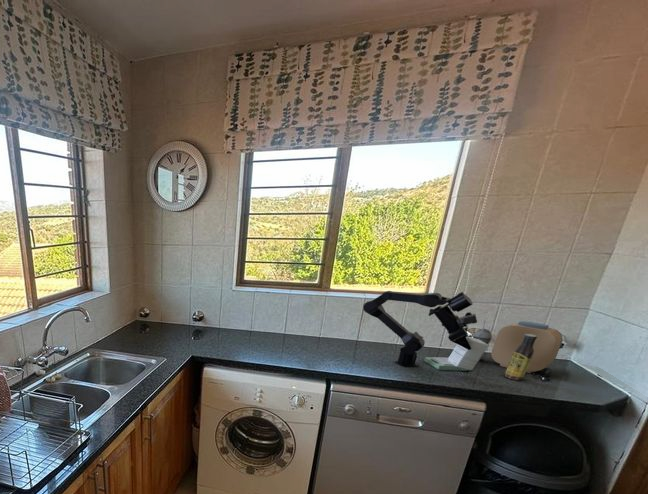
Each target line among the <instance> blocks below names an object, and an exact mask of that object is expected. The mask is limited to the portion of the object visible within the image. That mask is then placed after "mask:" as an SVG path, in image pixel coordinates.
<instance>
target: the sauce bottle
mask: <svg viewBox="0 0 648 494" xmlns="http://www.w3.org/2000/svg"><path fill="white" fill-rule="evenodd" d="M536 338H537V336H536V335H532V334H525V335H524V339H523V341H522V343H521V344H520V346H519V347H518V348H517V349H516V350H515V351H514V353H513V355H512V358H511V360H510V362H509V365H508V367H507V368H506V369H505V373H504V377H505V378H506V379H510V380H513V381H522V380H523V378H524V377H525V375H526V373H527V372H526V370H527V368H528V366H529V363H530V361H531V358H532V355H533V353H534V350H533V344H534V342H535V340H536Z"/></svg>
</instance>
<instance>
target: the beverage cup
mask: <svg viewBox="0 0 648 494" xmlns="http://www.w3.org/2000/svg"><path fill="white" fill-rule="evenodd" d="M485 325H486V319H484V320H483V324H482V328H479V329H477V330H476V331H475V332H474V333H473V335H472V338H475V339H479V340H481V341H482V342H484V343H486V344H488V345H489V343H490V342H491V340H492V337H493V336H492V335H493V334H492V332H491V331H490V330H489V329H486V328H485ZM484 354H485V352H484V353H483V355H482V356H481V358H480V359H479V361H478V362H480V361H481V360H482V358H483V356H484Z"/></svg>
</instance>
